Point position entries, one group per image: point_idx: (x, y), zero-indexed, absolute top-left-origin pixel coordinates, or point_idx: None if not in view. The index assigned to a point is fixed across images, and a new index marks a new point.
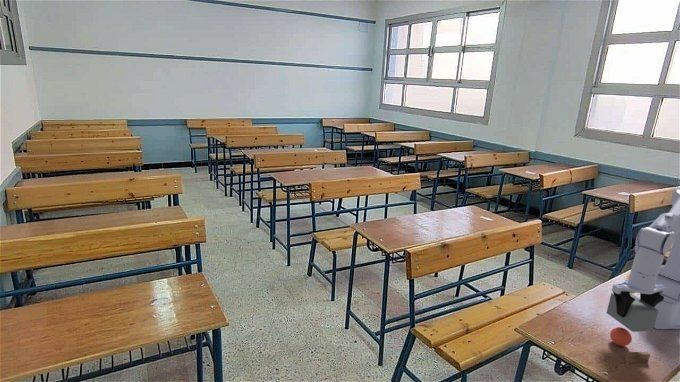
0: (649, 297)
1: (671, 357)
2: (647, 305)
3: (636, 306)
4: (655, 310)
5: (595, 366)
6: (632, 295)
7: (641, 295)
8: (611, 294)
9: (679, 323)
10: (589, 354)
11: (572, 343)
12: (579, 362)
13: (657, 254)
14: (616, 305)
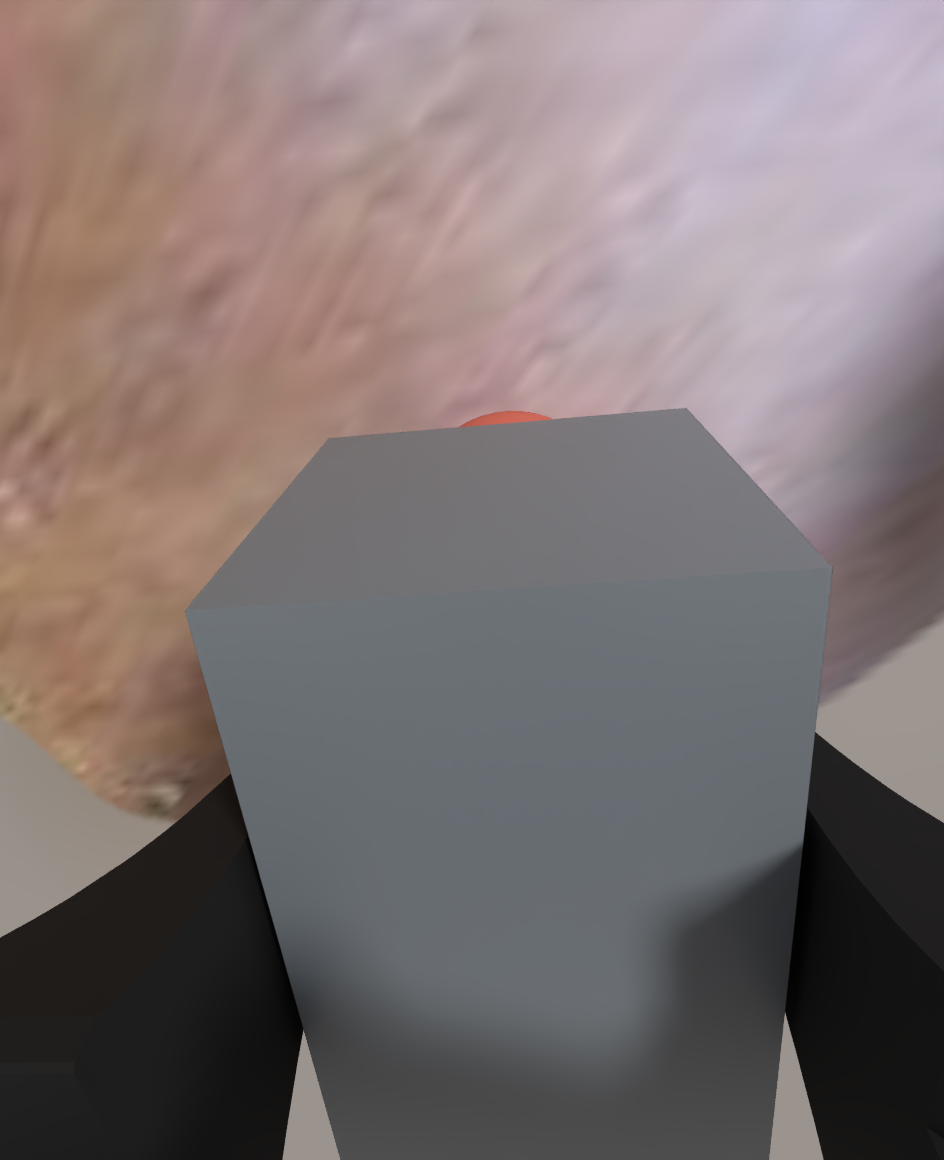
0: (866, 1152)
1: (887, 638)
2: (703, 1047)
3: (412, 1078)
4: (700, 1158)
5: (119, 746)
6: (750, 703)
7: (861, 921)
8: (200, 605)
9: None
10: (133, 629)
11: (33, 495)
12: (10, 713)
13: None
14: (227, 781)
